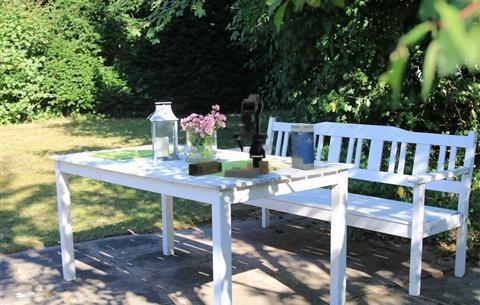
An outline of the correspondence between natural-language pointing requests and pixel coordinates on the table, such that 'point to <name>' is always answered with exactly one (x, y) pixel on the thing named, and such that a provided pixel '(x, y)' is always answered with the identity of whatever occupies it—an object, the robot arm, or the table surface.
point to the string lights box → (302, 146)
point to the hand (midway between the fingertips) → (250, 152)
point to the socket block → (242, 172)
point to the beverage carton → (205, 168)
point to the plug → (263, 167)
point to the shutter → (249, 167)
